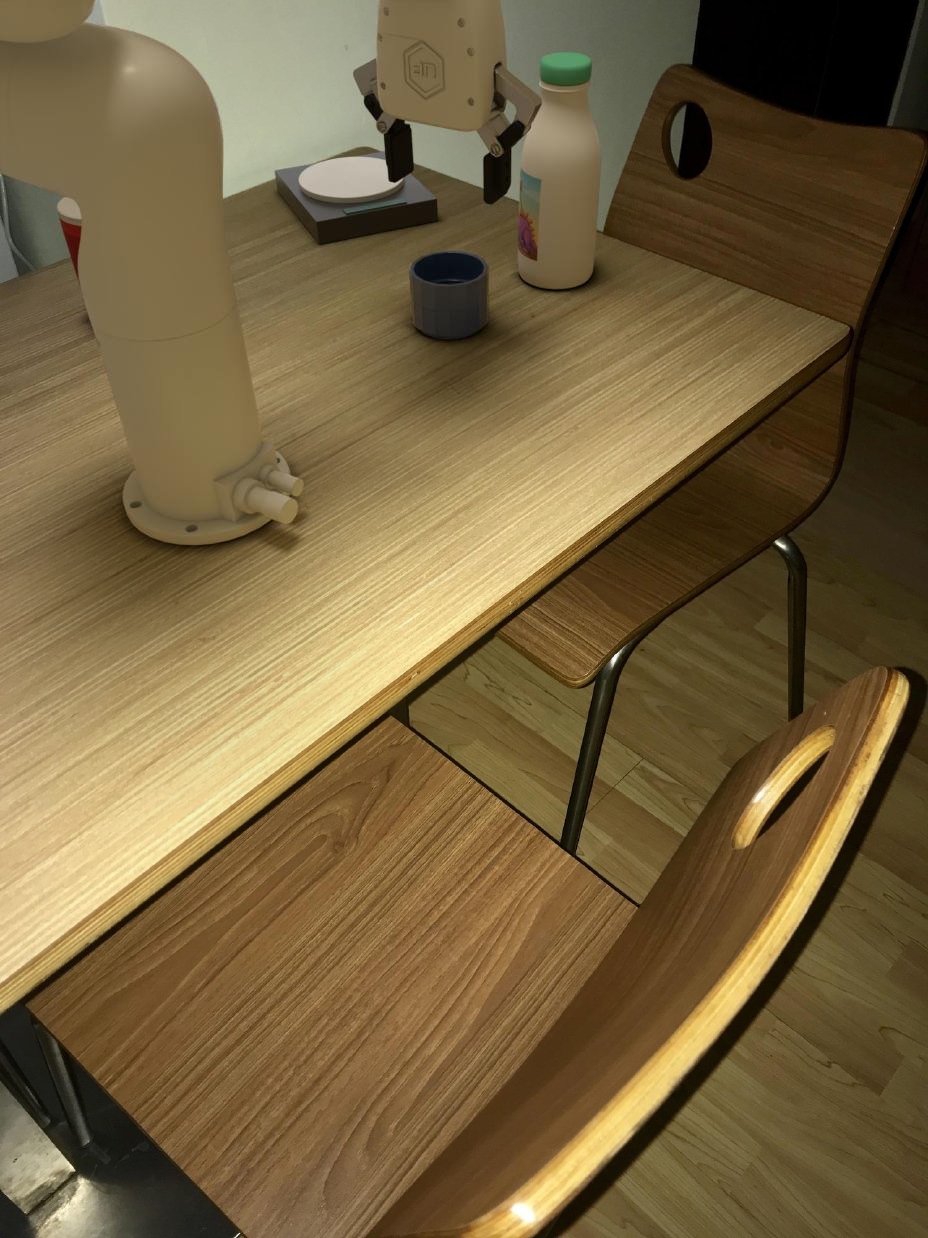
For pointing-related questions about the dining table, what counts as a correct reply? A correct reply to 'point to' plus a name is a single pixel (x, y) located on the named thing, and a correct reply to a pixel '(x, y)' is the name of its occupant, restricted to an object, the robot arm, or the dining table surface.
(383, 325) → the dining table surface
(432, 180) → the dining table surface
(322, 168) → the kitchen scale
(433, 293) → the cup
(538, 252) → the milk bottle
